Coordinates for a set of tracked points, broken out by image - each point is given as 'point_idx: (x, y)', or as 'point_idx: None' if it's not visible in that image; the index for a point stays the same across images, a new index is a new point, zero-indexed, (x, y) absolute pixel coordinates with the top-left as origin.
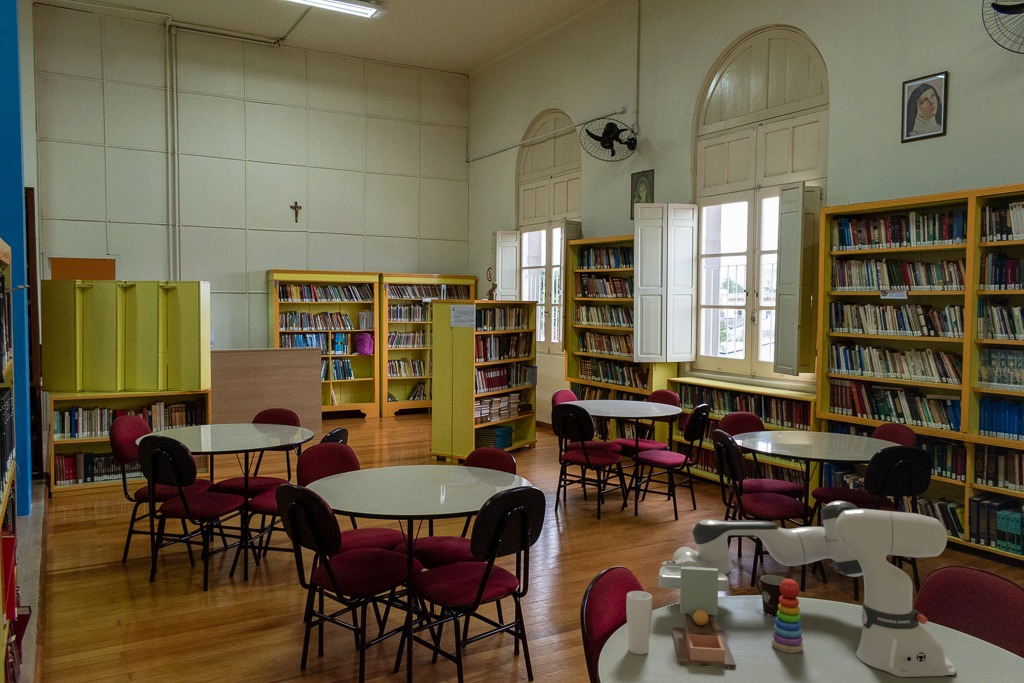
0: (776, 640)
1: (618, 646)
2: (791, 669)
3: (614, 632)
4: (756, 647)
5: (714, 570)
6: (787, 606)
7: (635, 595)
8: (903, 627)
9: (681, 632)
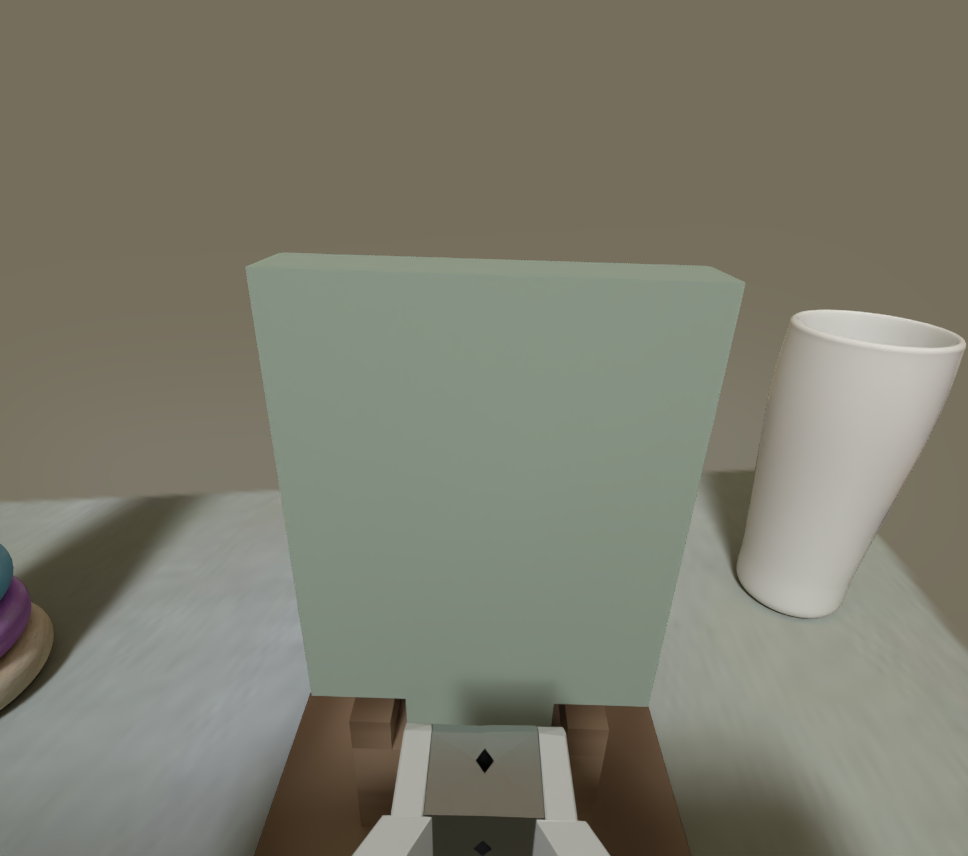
0: (27, 621)
1: (902, 620)
2: (157, 517)
3: None
4: (150, 674)
5: (324, 254)
6: None
7: (930, 375)
8: None
9: (603, 768)
